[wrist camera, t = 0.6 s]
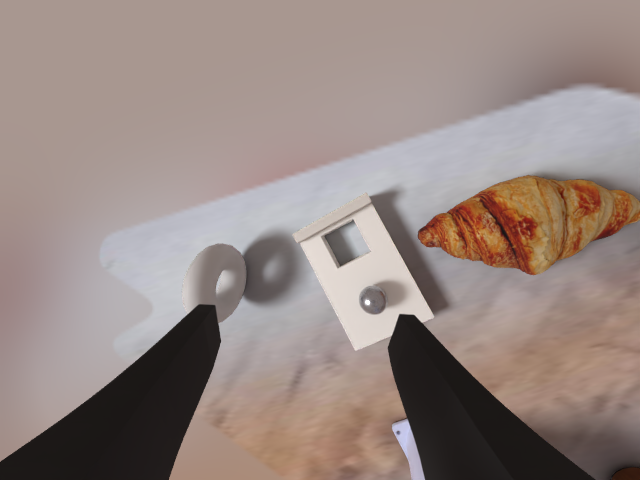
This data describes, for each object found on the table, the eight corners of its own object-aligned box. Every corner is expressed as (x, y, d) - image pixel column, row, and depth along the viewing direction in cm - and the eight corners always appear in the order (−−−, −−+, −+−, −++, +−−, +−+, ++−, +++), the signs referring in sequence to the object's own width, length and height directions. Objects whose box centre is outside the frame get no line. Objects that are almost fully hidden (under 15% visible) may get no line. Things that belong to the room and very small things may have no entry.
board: (429, 310, 29) (437, 321, 26) (356, 341, 31) (354, 355, 28) (367, 197, 30) (366, 192, 27) (300, 234, 32) (292, 234, 29)
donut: (232, 240, 35) (177, 243, 25) (253, 243, 34) (206, 247, 24) (226, 308, 35) (171, 337, 25) (248, 311, 34) (199, 343, 25)
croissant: (590, 188, 28) (656, 132, 22) (649, 267, 24) (757, 228, 17) (406, 219, 32) (412, 180, 26) (425, 291, 28) (439, 268, 21)
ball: (392, 302, 28) (394, 311, 25) (367, 313, 28) (367, 324, 25) (378, 278, 28) (379, 283, 25) (354, 289, 29) (352, 296, 25)
